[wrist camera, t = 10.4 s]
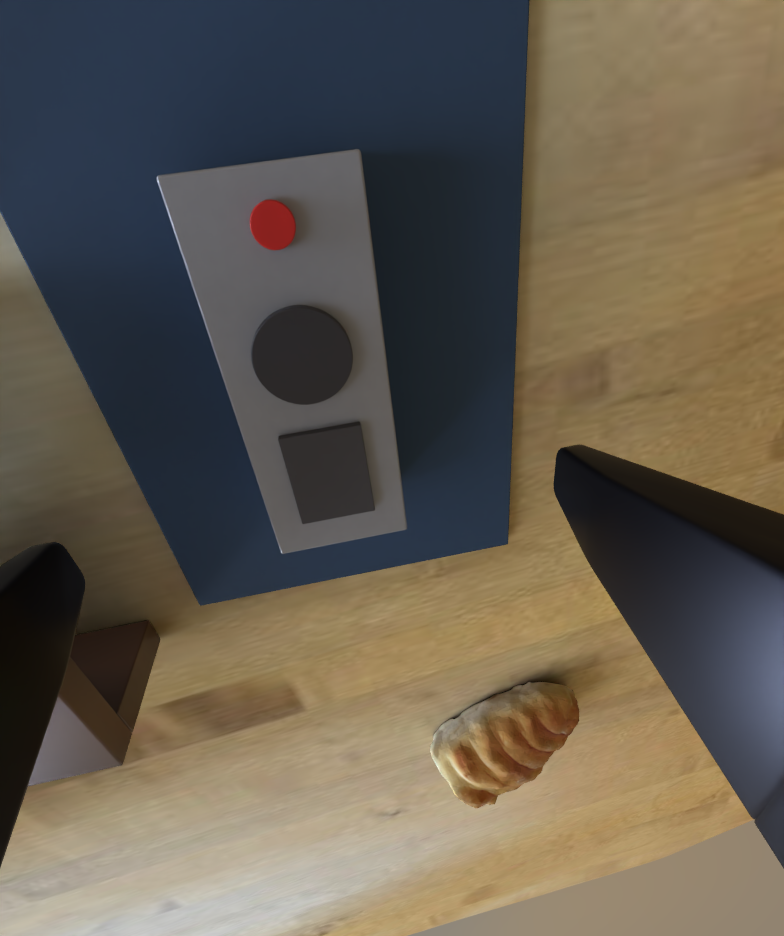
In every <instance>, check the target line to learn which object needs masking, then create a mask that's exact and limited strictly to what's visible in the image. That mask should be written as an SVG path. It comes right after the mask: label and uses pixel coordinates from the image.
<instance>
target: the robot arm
mask: <svg viewBox="0 0 784 936" xmlns="http://www.w3.org/2000/svg"><path fill="white" fill-rule="evenodd" d="M554 492H555V495H556V498H557V500H558V502H559V504H560V506H561V508H562V510H563V512H564V514H565V516H566V518H567V520H568V522H569V524H570V526H571V528H572V530H573V532H574V535H575V537H576V539H577V541H578V543H579V545H580V547H581V549H582V551H583V553H584V555H585V557H586V559H587V560H588V562H589V564H590V565H591V567H592V569H593V570H594V572H595V574H596V575H597V577H598V578H599V580H600V581H601V583H602V585H603V586H604V588H605V589H606V591H607V592H608V594H609V596H610V597H611V599H612V600H613V602H614V603H615V605H616V606H617V608H618V610H619V611H620V613H621V614H622V616H623V617H624V619H625V621H626V622H627V624H628V625H629V627H630V628H631V630H632V631H633V633H634V635H635V636H636V638H637V639H638V641H639V642H640V644H641V645H642V647H643V649H644V650H645V652H646V653H647V655H648V656H649V658H650V660H651V661H652V663H653V664H654V666H655V667H656V669H657V670H658V672H659V674H660V675H661V677H662V678H663V680H664V681H665V683H666V685H667V686H668V688H669V689H670V691H671V692H672V694H673V695H674V697H675V699H676V700H677V702H678V703H679V705H680V706H681V708H682V710H683V711H684V713H685V714H686V716H687V717H688V719H689V720H690V722H691V724H692V725H693V727H694V728H695V730H696V731H697V733H698V735H699V736H700V738H701V739H702V741H703V742H704V744H705V745H706V747H707V749H708V750H709V752H710V753H711V755H712V756H713V758H714V759H715V761H716V763H717V764H718V766H719V767H720V769H721V770H722V772H723V774H724V775H725V777H726V778H727V780H728V781H729V783H730V784H731V786H732V788H733V789H734V791H735V792H736V794H737V795H738V797H739V799H740V800H741V802H742V803H743V805H744V806H745V808H746V809H747V811H748V813H749V814H750V816H751V817H752V818H753V819H755V824H756V826H757V827H758V829H759V830H760V832H761V833H762V835H763V837H764V838H765V840H766V841H767V843H768V844H769V846H770V848H771V849H772V851H773V852H774V854H775V855H776V857H777V859H778V860H779V862H780V863H781V865H782V866H783V868H784V515H783V514H780V513H777V512H774V511H771V510H768V509H766V508H763V507H760V506H757V505H754V504H751V503H748V502H745V501H743V500H740V499H737V498H734V497H731V496H728V495H725V494H722V493H719V492H717V491H714V490H711V489H708V488H705V487H702V486H699V485H696V484H693V483H691V482H688V481H685V480H682V479H679V478H676V477H673V476H670V475H668V474H665V473H662V472H659V471H656V470H653V469H650V468H647V467H645V466H642V465H639V464H636V463H633V462H630V461H627V460H624V459H622V458H619V457H616V456H613V455H610V454H607V453H604V452H601V451H599V450H596V449H593V448H590V447H587V446H584V445H574V446H569V447H564V448H561V449H560V450H559V451H558V453H557V456H556V465H555V475H554ZM84 590H85V579H84V576H83V574H82V572H81V571H80V569H79V568H78V566H77V565H76V563H75V562H74V560H73V559H72V557H71V556H70V554H69V553H68V552H67V550H66V549H65V547H64V546H63V545H61V544H60V543H57V542H51V543H45V544H40V545H34V546H31V547H29V548H27V549H25V550H24V551H22V552H21V553H19V554H18V555H16V556H15V557H13V558H12V559H10V560H9V561H7V562H6V563H4V564H3V565H1V566H0V867H1V864H2V861H3V858H4V855H5V852H6V849H7V846H8V843H9V840H10V837H11V834H12V831H13V828H14V825H15V822H16V820H17V817H18V814H19V811H20V808H21V805H22V802H23V799H24V796H25V793H26V790H27V787H28V784H29V781H30V778H31V775H32V772H33V769H34V766H35V763H36V760H37V757H38V754H39V751H40V748H41V745H42V742H43V739H44V736H45V733H46V731H47V728H48V725H49V722H50V719H51V716H52V713H53V710H54V707H55V704H56V701H57V698H58V695H59V692H60V689H61V686H62V683H63V680H64V677H65V673H66V670H67V666H68V662H69V658H70V654H71V650H72V645H73V641H74V636H75V632H76V627H77V622H78V618H79V613H80V609H81V604H82V599H83V595H84Z"/></svg>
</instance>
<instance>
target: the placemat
mask: <svg viewBox="0 0 784 936" xmlns="http://www.w3.org/2000/svg"><path fill="white" fill-rule="evenodd" d="M528 21H529V0H0V212H1V214H2V216H3V218H4V220H5V222H6V224H7V226H8V228H9V230H10V232H11V234H12V236H13V238H14V240H15V242H16V244H17V246H18V248H19V250H20V252H21V254H22V256H23V258H24V260H25V262H26V264H27V265H28V267H29V269H30V271H31V273H32V275H33V277H34V279H35V281H36V283H37V285H38V287H39V289H40V291H41V293H42V295H43V297H44V299H45V301H46V303H47V305H48V307H49V309H50V311H51V313H52V315H53V317H54V319H55V321H56V323H57V325H58V327H59V329H60V331H61V333H62V335H63V337H64V338H65V340H66V342H67V344H68V346H69V348H70V350H71V352H72V354H73V356H74V358H75V360H76V362H77V364H78V366H79V368H80V370H81V372H82V374H83V376H84V378H85V380H86V382H87V384H88V386H89V388H90V390H91V392H92V394H93V396H94V398H95V400H96V402H97V404H98V406H99V408H100V409H101V411H102V413H103V415H104V417H105V419H106V421H107V423H108V425H109V427H110V429H111V431H112V433H113V435H114V437H115V439H116V441H117V443H118V445H119V447H120V449H121V451H122V453H123V455H124V457H125V459H126V461H127V463H128V465H129V467H130V469H131V471H132V473H133V475H134V477H135V479H136V480H137V482H138V484H139V486H140V488H141V490H142V492H143V494H144V496H145V498H146V500H147V502H148V504H149V506H150V508H151V510H152V512H153V514H154V516H155V518H156V520H157V522H158V524H159V526H160V528H161V530H162V532H163V534H164V536H165V538H166V540H167V542H168V544H169V546H170V548H171V550H172V551H173V553H174V555H175V557H176V559H177V561H178V563H179V565H180V567H181V569H182V571H183V573H184V575H185V577H186V579H187V581H188V583H189V585H190V587H191V589H192V591H193V593H194V595H195V597H196V599H197V601H198V603H199V605H200V606H201V605H206V604H211V603H216V602H221V601H226V600H231V599H236V598H241V597H246V596H251V595H256V594H261V593H266V592H271V591H276V590H281V589H286V588H291V587H296V586H301V585H306V584H311V583H316V582H321V581H326V580H331V579H336V578H341V577H346V576H351V575H356V574H361V573H366V572H371V571H376V570H381V569H386V568H391V567H396V566H401V565H406V564H411V563H416V562H421V561H426V560H431V559H436V558H441V557H446V556H451V555H456V554H461V553H466V552H471V551H476V550H481V549H486V548H491V547H496V546H501V545H506V544H508V531H509V505H510V480H511V454H512V429H513V403H514V378H515V352H516V327H517V301H518V276H519V250H520V225H521V199H522V174H523V148H524V123H525V97H526V72H527V46H528ZM354 149H358V150H360V152H361V157H362V165H363V173H364V181H365V189H366V197H367V205H368V214H369V222H370V230H371V238H372V246H373V254H374V262H375V270H376V279H377V287H378V295H379V303H380V311H381V319H382V327H383V336H384V344H385V352H386V360H387V368H388V376H389V384H390V392H391V401H392V409H393V417H394V425H395V433H396V441H397V449H398V457H399V466H400V474H401V482H402V490H403V498H404V506H405V514H406V522H407V529H406V530H402V531H397V532H392V533H386V534H381V535H376V536H371V537H366V538H361V539H356V540H351V541H346V542H341V543H336V544H330V545H325V546H320V547H315V548H310V549H305V550H300V551H295V552H290V553H285V554H282V553H281V551H280V548H279V545H278V542H277V539H276V536H275V533H274V530H273V527H272V524H271V521H270V518H269V515H268V512H267V509H266V506H265V503H264V500H263V497H262V494H261V491H260V488H259V485H258V482H257V479H256V476H255V473H254V470H253V467H252V464H251V461H250V458H249V455H248V452H247V449H246V446H245V443H244V440H243V437H242V434H241V431H240V428H239V425H238V422H237V419H236V416H235V413H234V410H233V407H232V404H231V401H230V398H229V395H228V392H227V389H226V386H225V383H224V380H223V377H222V374H221V371H220V368H219V365H218V362H217V359H216V356H215V353H214V350H213V347H212V344H211V341H210V338H209V335H208V332H207V329H206V326H205V323H204V320H203V317H202V314H201V311H200V308H199V305H198V302H197V299H196V296H195V293H194V290H193V287H192V284H191V281H190V278H189V275H188V272H187V269H186V266H185V263H184V260H183V257H182V254H181V251H180V248H179V245H178V242H177V239H176V236H175V233H174V230H173V227H172V224H171V221H170V218H169V215H168V212H167V209H166V206H165V203H164V200H163V197H162V194H161V191H160V188H159V185H158V182H157V176H158V175H164V174H172V173H180V172H187V171H195V170H202V169H210V168H217V167H225V166H233V165H240V164H248V163H255V162H263V161H271V160H278V159H286V158H293V157H301V156H309V155H316V154H324V153H331V152H339V151H347V150H354Z"/></svg>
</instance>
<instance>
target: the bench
mask: <svg viewBox="0 0 784 936" xmlns="http://www.w3.org/2000/svg"><path fill="white" fill-rule="evenodd" d="M159 643H160V638H159V636H158V634H157V633H156V631H155V630H154V628H153V626H152V625H151V623H150V621H143V622H138V623H133V624H128V625H123V626H118V627H113V628H108V629H103V630H98V631H93V632H88V633H83V634H78V635H75V636H74V641H73V645H72V650H71V654H70V658H69V662H68V666H67V670H66V673H65V677H64V680H63V683H62V686H61V689H60V692H59V695H58V698H57V701H56V704H55V707H54V710H53V713H52V716H51V719H50V722H49V725H48V728H47V731H46V733H45V736H44V739H43V742H42V745H41V748H40V751H39V754H38V757H37V760H36V763H35V766H34V769H33V772H32V775H31V778H30V781H29V784H28V786H31V785H36V784H40V783H45V782H49V781H54V780H58V779H63V778H67V777H72V776H76V775H81V774H85V773H90V772H94V771H98V770H103V769H107V768H112V767H116V766H121V765H122V764H123V762H124V759H125V755H126V752H127V749H128V745H129V742H130V739H131V735H132V732H133V729H134V726H135V723H136V719H137V716H138V713H139V709H140V706H141V703H142V699H143V696H144V693H145V689H146V686H147V683H148V679H149V676H150V673H151V669H152V666H153V663H154V659H155V656H156V653H157V649H158V646H159Z"/></svg>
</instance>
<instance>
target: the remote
mask: <svg viewBox="0 0 784 936" xmlns="http://www.w3.org/2000/svg"><path fill="white" fill-rule="evenodd" d="M157 182H158V185H159V188H160V191H161V194H162V197H163V200H164V203H165V206H166V209H167V212H168V215H169V218H170V221H171V224H172V227H173V230H174V233H175V236H176V239H177V242H178V245H179V248H180V251H181V254H182V257H183V260H184V263H185V266H186V269H187V272H188V275H189V278H190V281H191V284H192V287H193V290H194V293H195V296H196V299H197V302H198V305H199V308H200V311H201V314H202V317H203V320H204V323H205V326H206V329H207V332H208V335H209V338H210V341H211V344H212V347H213V350H214V353H215V356H216V359H217V362H218V365H219V368H220V371H221V374H222V377H223V380H224V383H225V386H226V389H227V392H228V395H229V398H230V401H231V404H232V407H233V410H234V413H235V416H236V419H237V422H238V425H239V428H240V431H241V434H242V437H243V440H244V443H245V446H246V449H247V452H248V455H249V458H250V461H251V464H252V467H253V470H254V473H255V476H256V479H257V482H258V485H259V488H260V491H261V494H262V497H263V500H264V503H265V506H266V509H267V512H268V515H269V518H270V521H271V524H272V527H273V530H274V533H275V536H276V539H277V542H278V545H279V548H280V551H281V553H282V554H285V553H290V552H295V551H300V550H305V549H310V548H315V547H320V546H325V545H330V544H336V543H341V542H346V541H351V540H356V539H361V538H366V537H371V536H376V535H381V534H386V533H392V532H397V531H402V530H406V529H407V522H406V514H405V506H404V498H403V490H402V482H401V474H400V466H399V457H398V449H397V441H396V433H395V425H394V417H393V409H392V401H391V392H390V384H389V376H388V368H387V360H386V352H385V344H384V336H383V327H382V319H381V311H380V303H379V295H378V287H377V279H376V270H375V262H374V254H373V246H372V238H371V230H370V222H369V214H368V205H367V197H366V189H365V181H364V173H363V165H362V157H361V152H360V150H358V149H354V150H347V151H339V152H331V153H324V154H316V155H309V156H301V157H293V158H286V159H278V160H271V161H263V162H255V163H248V164H240V165H233V166H225V167H217V168H210V169H202V170H195V171H187V172H180V173H172V174H164V175H158V176H157Z"/></svg>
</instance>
